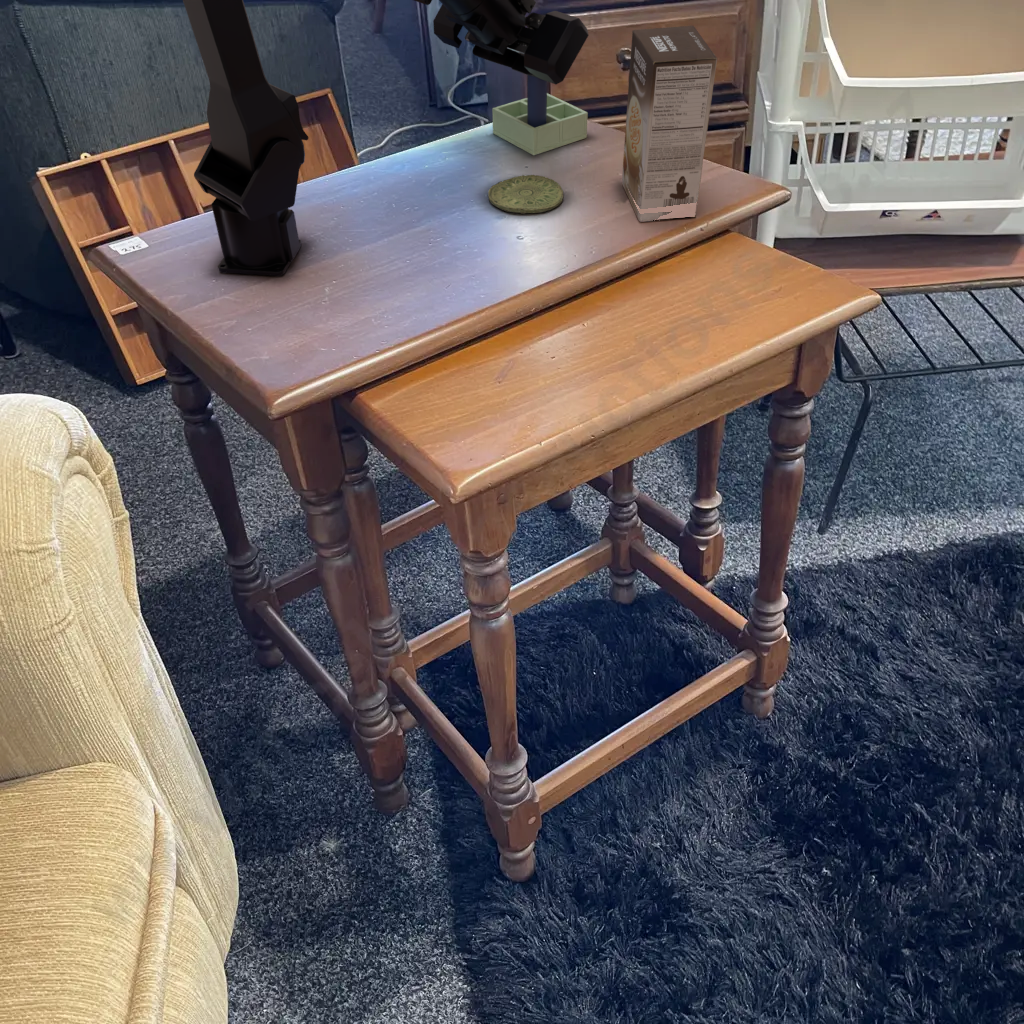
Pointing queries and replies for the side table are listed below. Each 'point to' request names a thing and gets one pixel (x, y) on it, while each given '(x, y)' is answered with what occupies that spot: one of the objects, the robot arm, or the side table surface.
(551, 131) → the grid
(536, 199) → the medallion
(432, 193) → the side table surface
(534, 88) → the tall navy cylinder rod
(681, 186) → the coffee box
